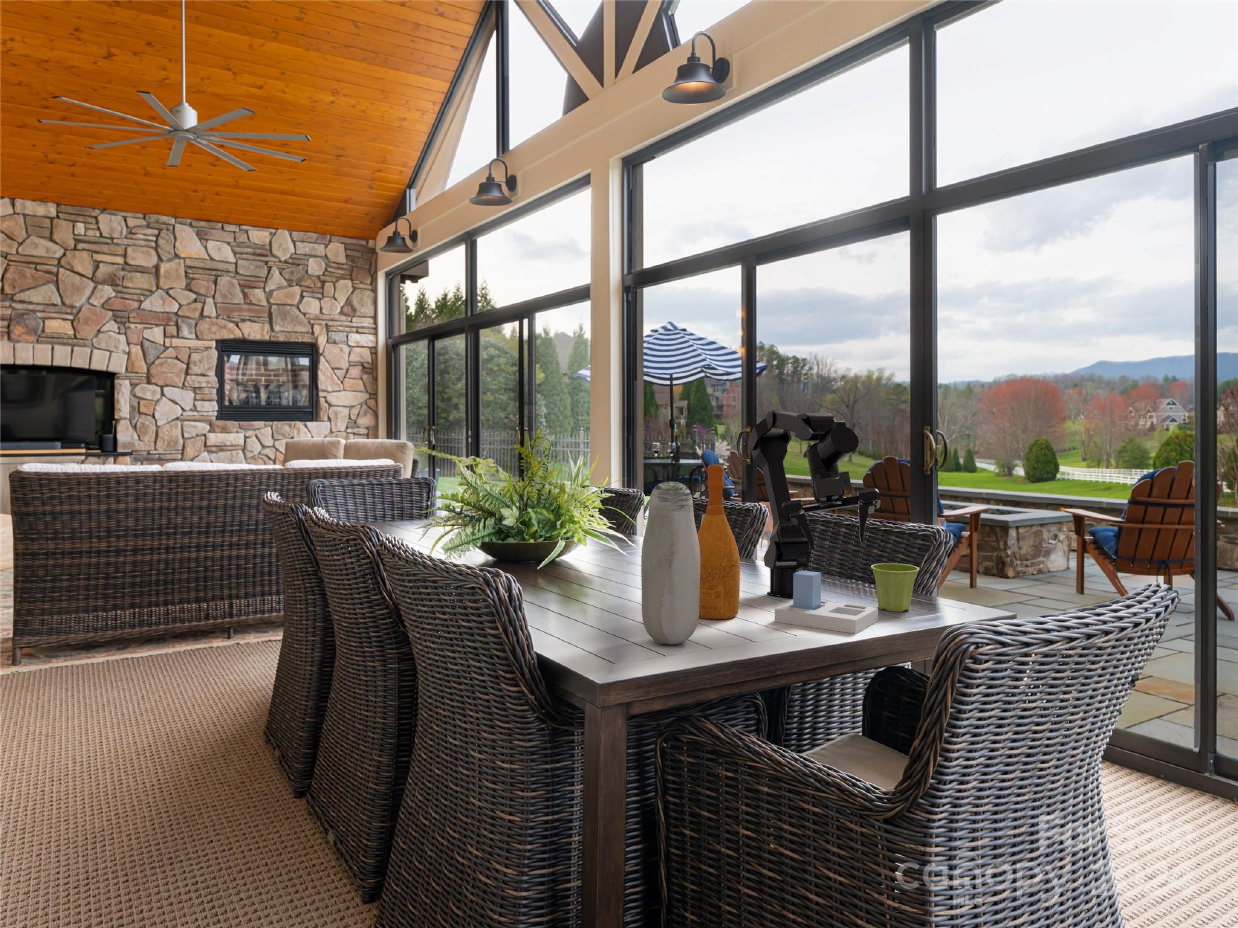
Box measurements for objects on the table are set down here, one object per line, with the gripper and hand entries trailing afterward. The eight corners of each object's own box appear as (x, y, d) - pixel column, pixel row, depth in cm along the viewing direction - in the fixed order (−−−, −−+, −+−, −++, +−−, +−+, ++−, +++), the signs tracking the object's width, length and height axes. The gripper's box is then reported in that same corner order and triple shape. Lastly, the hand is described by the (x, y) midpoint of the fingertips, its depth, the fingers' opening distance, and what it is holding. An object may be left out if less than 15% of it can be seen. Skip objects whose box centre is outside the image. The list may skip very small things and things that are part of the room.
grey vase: (704, 649, 145) (705, 483, 144) (643, 650, 144) (644, 483, 143) (694, 634, 155) (695, 479, 154) (638, 635, 154) (638, 479, 153)
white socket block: (774, 621, 165) (774, 607, 165) (799, 610, 175) (800, 597, 175) (855, 633, 156) (855, 618, 156) (877, 621, 166) (878, 607, 166)
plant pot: (921, 614, 172) (922, 571, 171) (872, 612, 173) (873, 570, 173) (914, 605, 181) (915, 564, 180) (868, 603, 183) (869, 562, 182)
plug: (792, 619, 167) (793, 573, 167) (802, 614, 171) (803, 569, 171) (812, 622, 165) (812, 575, 165) (822, 617, 169) (822, 572, 169)
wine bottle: (743, 611, 174) (745, 463, 172) (734, 622, 164) (735, 465, 163) (696, 608, 177) (697, 462, 175) (684, 618, 168) (685, 464, 166)
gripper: (774, 467, 167) (786, 545, 162) (873, 450, 163) (889, 530, 158) (778, 483, 177) (790, 557, 172) (872, 468, 173) (887, 543, 168)
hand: (838, 547), depth 167 cm, fingers open, 9 cm apart
